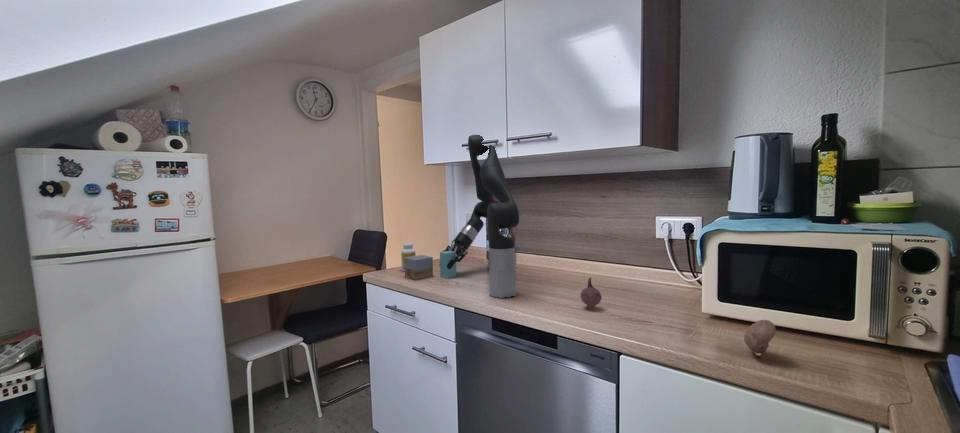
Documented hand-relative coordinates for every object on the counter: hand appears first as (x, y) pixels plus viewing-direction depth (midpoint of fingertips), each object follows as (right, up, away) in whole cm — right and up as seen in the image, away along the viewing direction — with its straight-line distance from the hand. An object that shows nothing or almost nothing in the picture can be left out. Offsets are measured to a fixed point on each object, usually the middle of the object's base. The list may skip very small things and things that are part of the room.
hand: (444, 266), depth 158 cm
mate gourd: (0, -3, +24) cm, 24 cm away
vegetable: (+50, -7, -44) cm, 67 cm away
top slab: (-12, -1, +2) cm, 12 cm away
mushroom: (+77, -9, -78) cm, 110 cm away
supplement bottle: (-19, -4, +16) cm, 25 cm away
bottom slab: (-12, -5, +2) cm, 13 cm away
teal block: (+2, -5, +2) cm, 5 cm away
